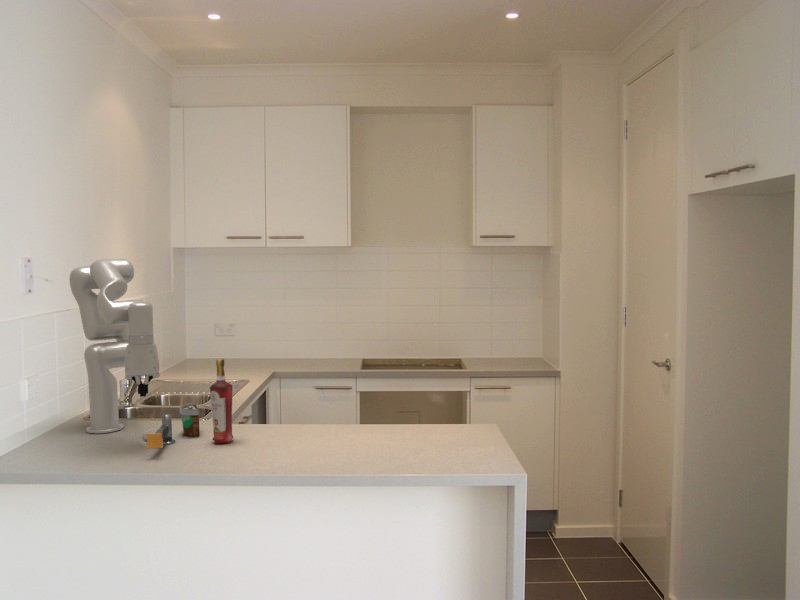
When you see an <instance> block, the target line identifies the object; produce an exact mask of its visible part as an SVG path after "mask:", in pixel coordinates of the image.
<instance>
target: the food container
mask: <svg viewBox="0 0 800 600" xmlns="http://www.w3.org/2000/svg"><path fill="white" fill-rule="evenodd" d="M179 415H181V422H182V423H181V424H182V429H183V430H182V432H183V436H184V437H186V438H199V437H200V435H201V434H200V409H199V408H198V406H197V402H190V403H185V404H182V405H181V406H180V408H179Z"/></svg>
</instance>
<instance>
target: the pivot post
mask: <svg viewBox="0 0 800 600" xmlns="http://www.w3.org/2000/svg"><path fill="white" fill-rule="evenodd" d="M172 423H173V422H172V414H171V413H165V414H161V426H162V425H168V428H169V432H168V434H167V435H166V436H165V437H164V438H163V446H169V445H174V444H175V443H176V439H173V428H172ZM173 443H174V444H173Z"/></svg>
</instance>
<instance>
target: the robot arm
mask: <svg viewBox="0 0 800 600" xmlns="http://www.w3.org/2000/svg"><path fill="white" fill-rule="evenodd" d="M134 277H135V269H134V266H133V264H132V263H131V261H130V260H128V259H126V258H102V259H98V260H96V261H93V262H92V263H91V264H90V265H86V266H78V267H76V268H74V269H72V270H71V272H70V274H69V286H70V291H71V293H72V295H73V297H74V299H75V301H76V304H77V305H78V308H79V313H80V319H81V324H82V330H83V333H84V336H85V338H86V339H87V340H88V341H91V342H92V341H93V342H95V341H96V342H97V341H108V342H100V343H93V344H90V345H88V346H87V347H86V349H85V350H84V353H83V357H84V364H85V367H86V372H87V380H88V381H87V382H88V396H89V397H88V399H89V400H88V401H89V419H90V420H89V421H90V425H89V426H87V427H86V428H85V430H86V433H89V434H107V433H113V432H118V431H121V430H122V429H123V430H124V426H125V425H124V423H123V422H120V419H119V418H120V417H119V413H120V412H119V394H118V381H117V378H116V377H115V375H114V374H113V373H112V372H111V371H110V369H111V370H112V369H116V368H117V369H118V368H124V374H125V375H124V378H125V380H132V381H133V382H134V383H135V384H136V385H137V394H138V395H139V397H140V398H142V397H144V398H145V397H147V394H149V384H150V382H151V381H152V380H153V379H158V378H160V376H161V373H160V361H159V360H160V359H159V353H158V347H157V343H154V342H155V340H154V315H153V314H154V313H153V311H154V310H153V304H152V303H151V302H148V301H144V300H142V299H133V300H132V299H131V300H129V299H128V300H118V299H120V298H122V297H123V296H124V295H125V294H126V293H127V291H128V284H129V283H130V282H131V281H133V279H134ZM93 290H99V292H98V294H97V293H96V292H94V291H93ZM110 340H116V341H110ZM141 376H142V377H144V378H143V379H144V380H143V381H142V377H141Z"/></svg>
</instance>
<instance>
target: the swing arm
mask: <svg viewBox="0 0 800 600" xmlns="http://www.w3.org/2000/svg"><path fill="white" fill-rule="evenodd" d="M168 432H169V428H168V425H162V424H161V425H160V427H159V428H158V429H157V430H156V431H155V432H151V433H152V434H149V433H146V434H147V442H146V447H147V449H163V447H164V445H163V438H164V437H165V436H166V435H167V434H168Z"/></svg>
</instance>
